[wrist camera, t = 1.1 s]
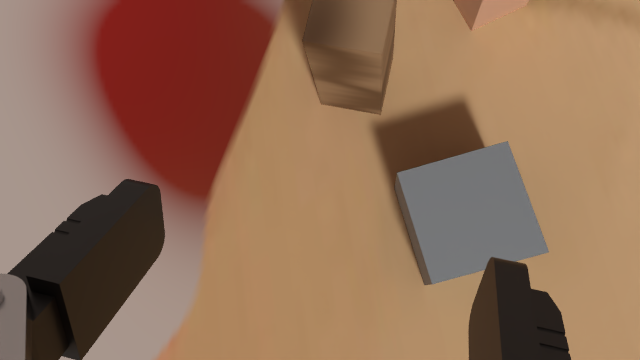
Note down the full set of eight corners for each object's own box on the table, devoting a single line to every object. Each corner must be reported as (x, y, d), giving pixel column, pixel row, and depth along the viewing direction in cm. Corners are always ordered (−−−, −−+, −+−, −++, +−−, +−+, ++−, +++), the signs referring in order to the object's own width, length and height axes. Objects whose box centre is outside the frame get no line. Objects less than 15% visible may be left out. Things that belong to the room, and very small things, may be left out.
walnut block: (392, 58, 39) (398, -20, 29) (380, 114, 38) (382, 53, 28) (334, 49, 39) (320, -31, 29) (321, 104, 38) (302, 41, 29)
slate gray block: (490, 161, 36) (507, 141, 31) (524, 257, 35) (549, 252, 30) (394, 188, 37) (397, 172, 32) (424, 285, 35) (432, 284, 30)
